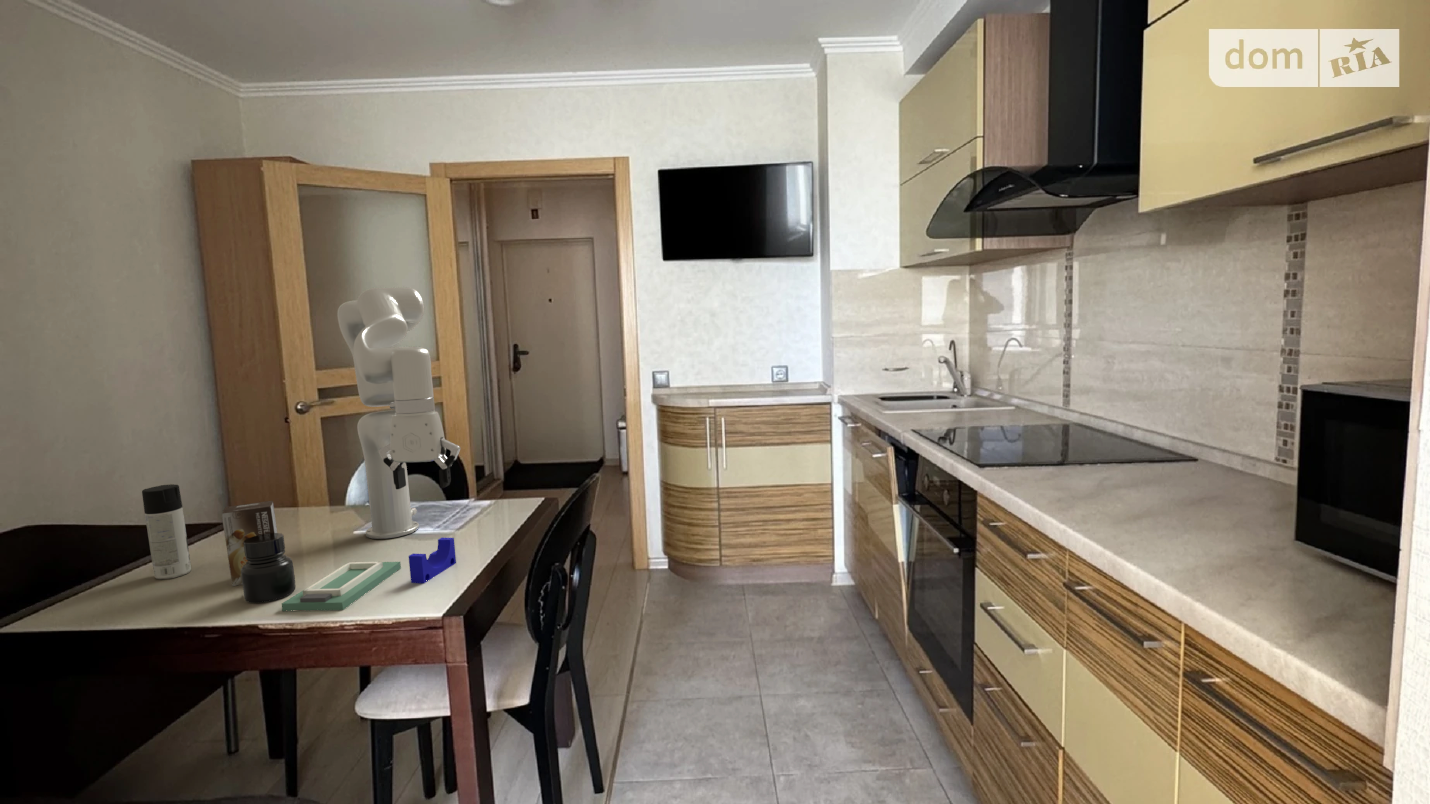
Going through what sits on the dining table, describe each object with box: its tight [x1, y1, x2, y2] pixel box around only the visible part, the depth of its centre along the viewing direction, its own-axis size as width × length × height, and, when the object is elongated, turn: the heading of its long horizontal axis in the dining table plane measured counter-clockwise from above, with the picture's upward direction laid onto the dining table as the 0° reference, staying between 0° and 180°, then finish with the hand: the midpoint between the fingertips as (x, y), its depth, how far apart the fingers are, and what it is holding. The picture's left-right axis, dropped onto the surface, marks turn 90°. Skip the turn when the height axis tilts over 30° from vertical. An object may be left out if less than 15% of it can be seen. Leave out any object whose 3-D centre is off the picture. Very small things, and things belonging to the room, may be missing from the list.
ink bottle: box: [241, 532, 296, 604], centre depth 141 cm, size 10×9×12 cm
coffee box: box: [221, 500, 278, 587], centre depth 151 cm, size 9×6×16 cm
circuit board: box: [281, 561, 402, 612], centre depth 144 cm, size 22×12×3 cm, turn 177°
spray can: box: [141, 483, 192, 580], centre depth 155 cm, size 7×7×20 cm
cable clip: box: [408, 537, 457, 584], centre depth 151 cm, size 12×4×6 cm, turn 169°
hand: (423, 487), depth 148 cm, fingers open, 9 cm apart
